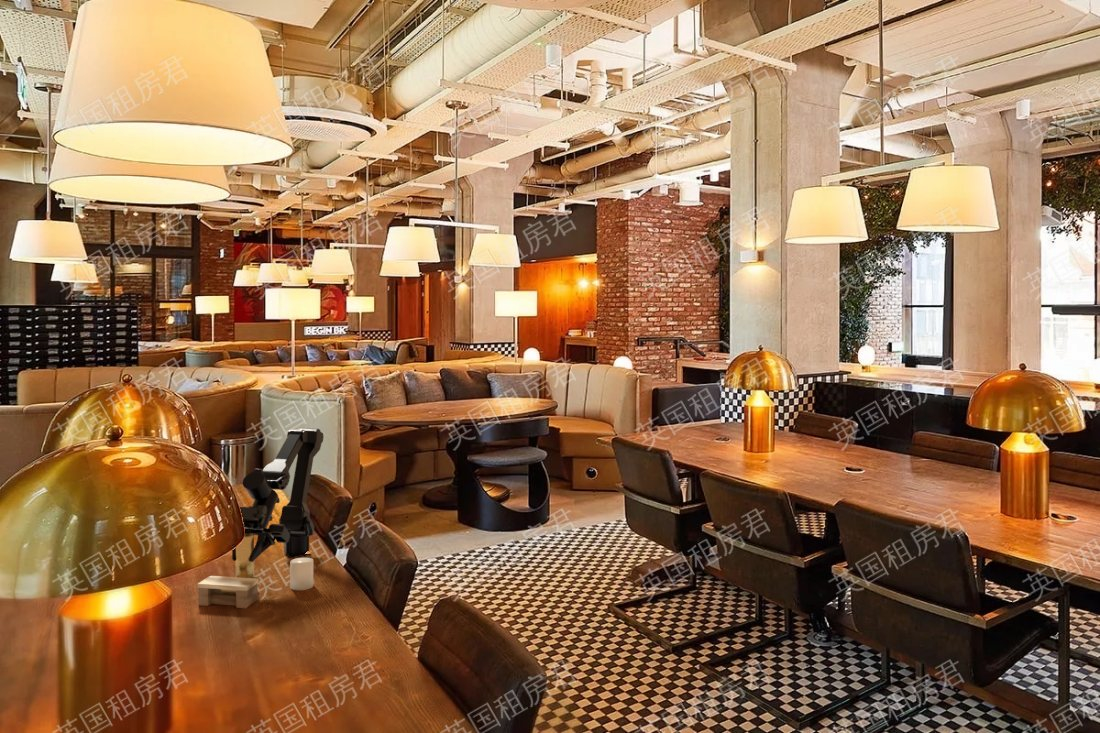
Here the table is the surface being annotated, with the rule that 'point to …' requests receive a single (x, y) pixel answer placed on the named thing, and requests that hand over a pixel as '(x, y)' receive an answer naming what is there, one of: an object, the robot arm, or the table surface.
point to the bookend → (243, 560)
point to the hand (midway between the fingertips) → (242, 560)
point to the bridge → (214, 584)
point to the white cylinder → (301, 573)
